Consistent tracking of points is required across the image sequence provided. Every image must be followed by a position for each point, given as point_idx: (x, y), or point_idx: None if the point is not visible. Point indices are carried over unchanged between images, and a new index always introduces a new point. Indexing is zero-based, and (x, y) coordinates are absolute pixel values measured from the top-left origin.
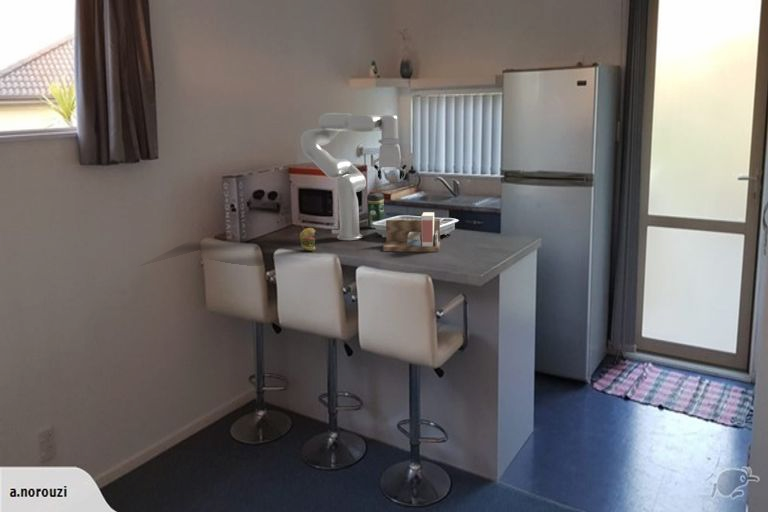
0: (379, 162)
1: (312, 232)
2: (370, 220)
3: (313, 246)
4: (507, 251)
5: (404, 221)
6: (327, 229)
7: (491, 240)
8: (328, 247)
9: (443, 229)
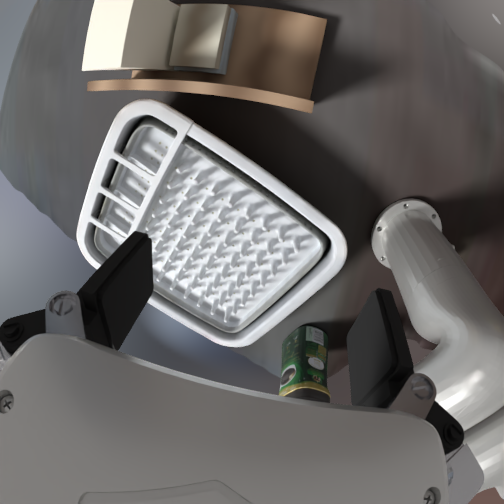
0: (447, 483)
1: None
2: (323, 346)
3: None
4: (26, 48)
5: (223, 84)
6: (420, 336)
7: (39, 148)
8: (478, 130)
9: (110, 173)
